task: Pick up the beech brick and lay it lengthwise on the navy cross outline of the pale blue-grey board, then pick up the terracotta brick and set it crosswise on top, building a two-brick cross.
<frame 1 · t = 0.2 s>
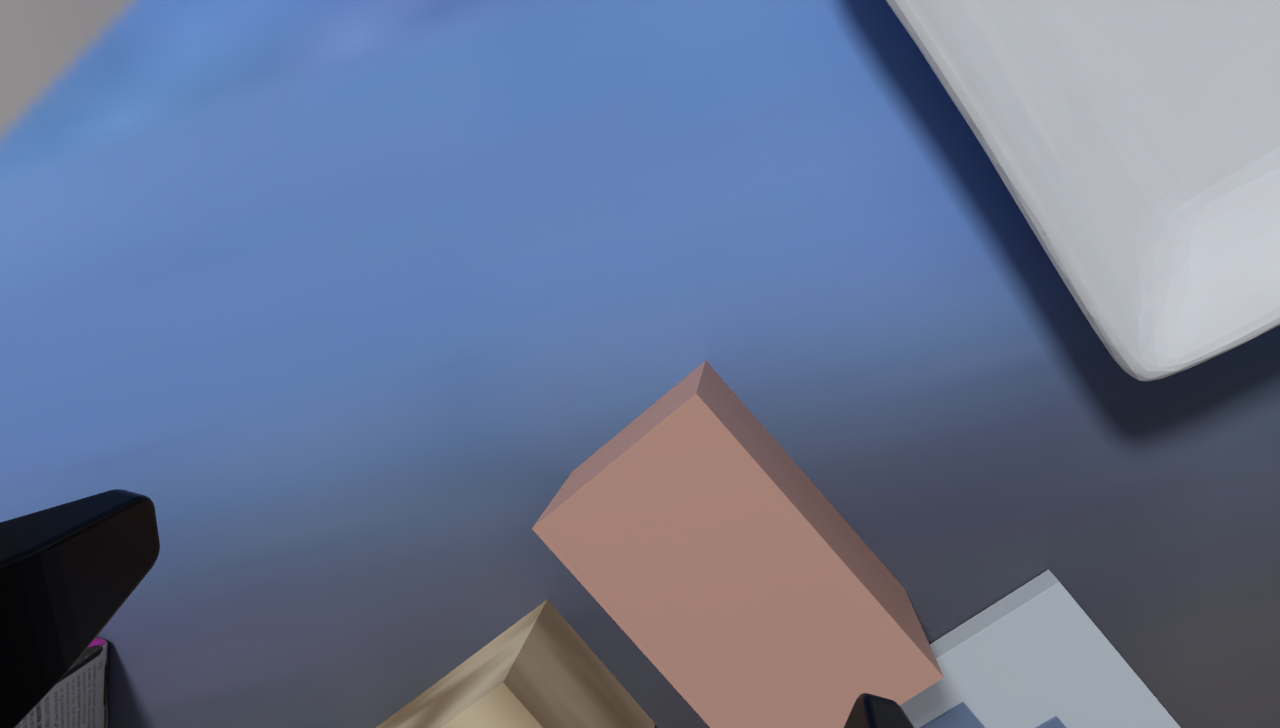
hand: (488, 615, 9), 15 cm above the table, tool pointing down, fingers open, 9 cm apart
brick b: (735, 526, 24), on the table
candy bar box: (1, 657, 30), on the table
brick a: (504, 727, 27), on the table
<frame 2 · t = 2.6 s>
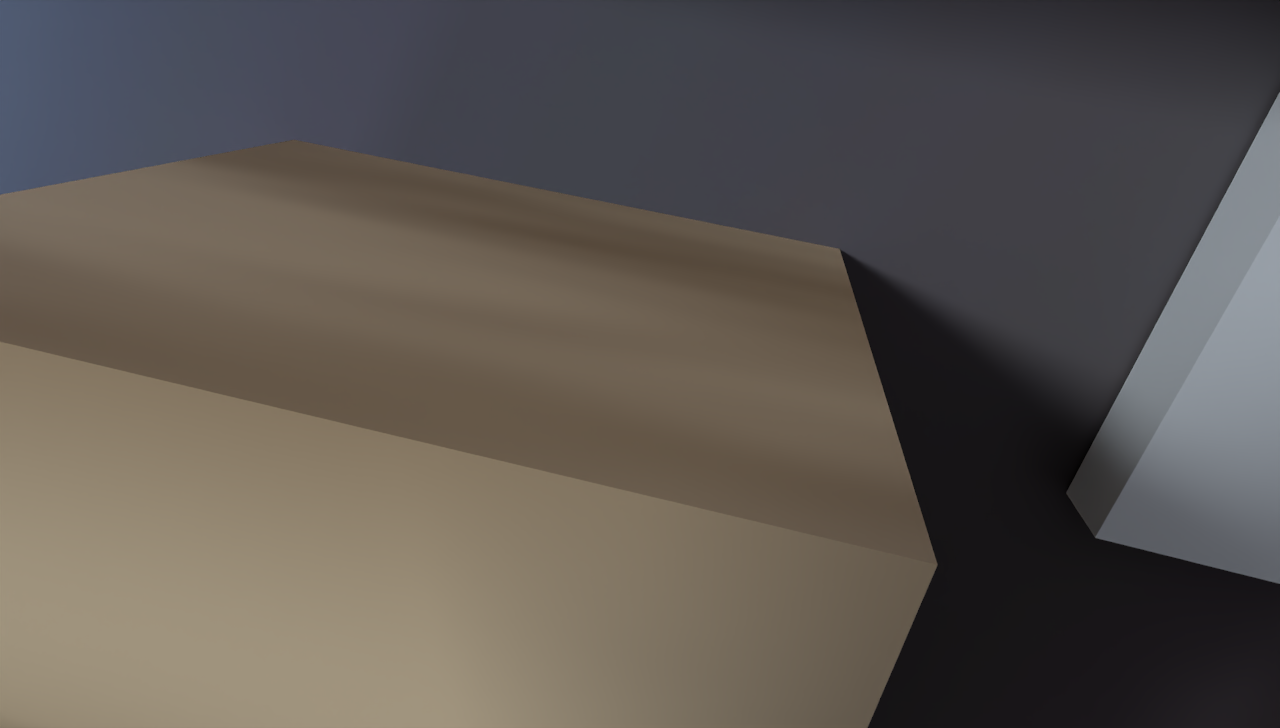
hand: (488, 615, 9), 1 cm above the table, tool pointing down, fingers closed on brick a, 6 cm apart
brick a: (518, 556, 10), on the table, touching gripper
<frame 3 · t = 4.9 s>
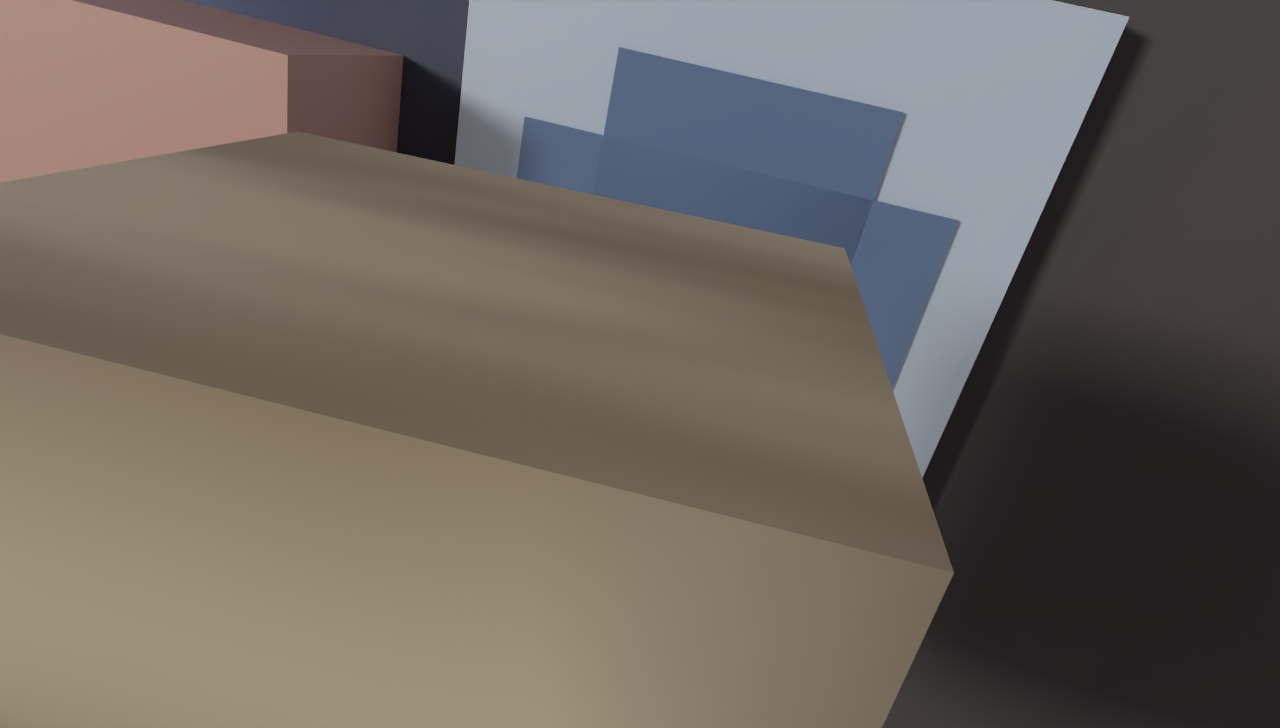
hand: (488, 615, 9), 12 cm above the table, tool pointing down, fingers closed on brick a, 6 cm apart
blueprint board: (706, 285, 19), on the table
brick b: (231, 126, 20), on the table
brick a: (516, 555, 10), point 11 cm above the table, touching gripper
when the fingers open (3 cm above the table, at t = 7.2 s): brick a drops 1 cm, resting on blueprint board.
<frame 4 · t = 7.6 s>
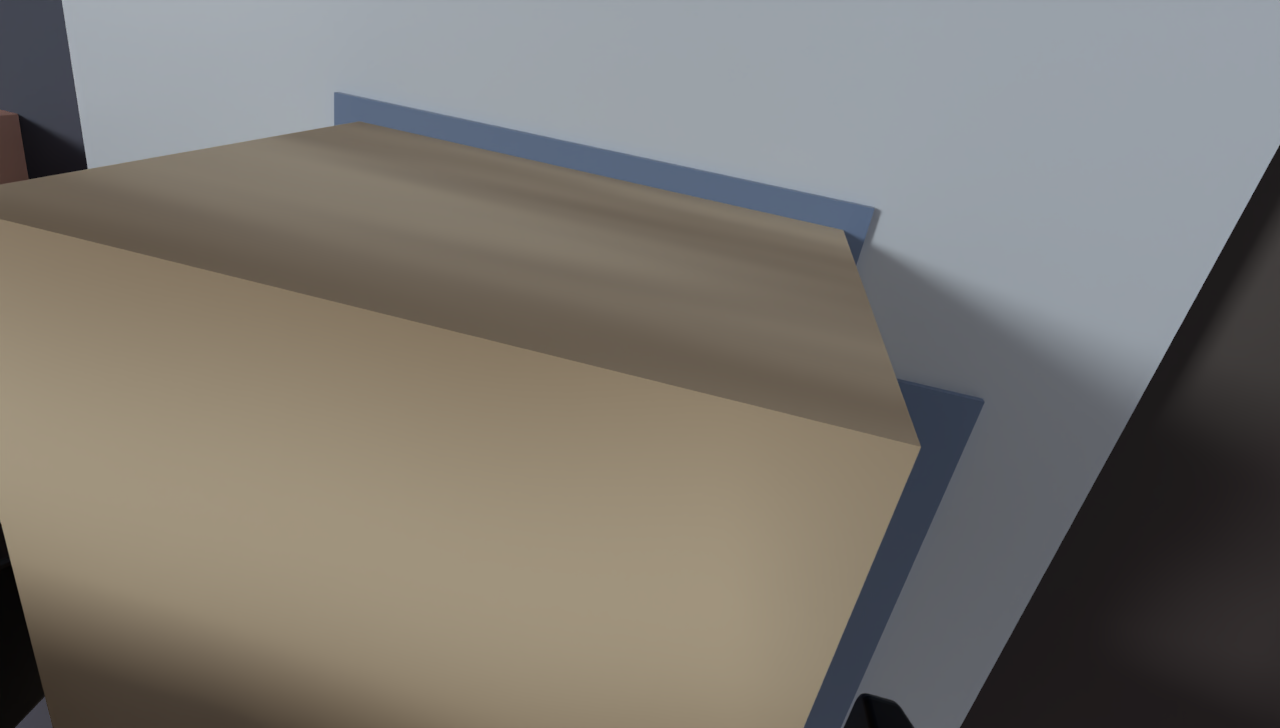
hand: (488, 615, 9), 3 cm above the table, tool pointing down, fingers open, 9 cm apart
blueprint board: (558, 476, 11), on the table
brick a: (542, 508, 11), point 1 cm above the table, touching blueprint board
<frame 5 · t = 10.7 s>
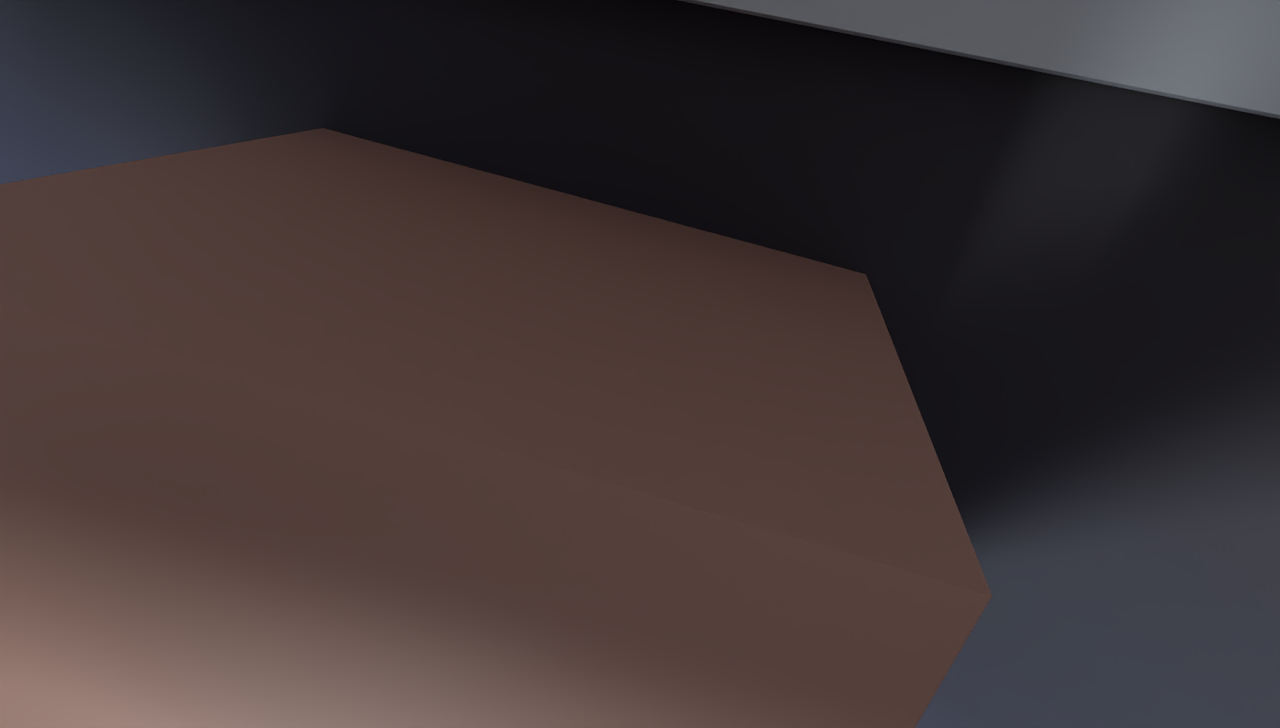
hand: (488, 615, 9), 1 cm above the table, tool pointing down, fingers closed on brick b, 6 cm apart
brick b: (522, 549, 10), on the table, touching gripper
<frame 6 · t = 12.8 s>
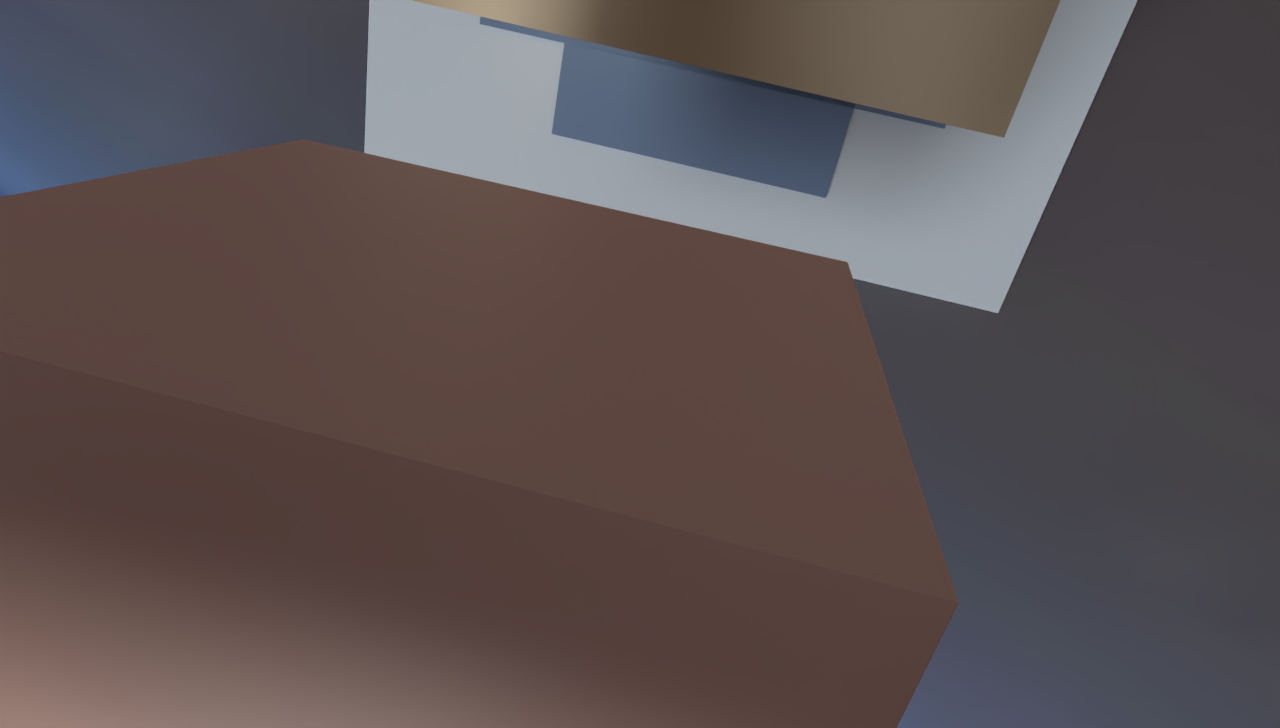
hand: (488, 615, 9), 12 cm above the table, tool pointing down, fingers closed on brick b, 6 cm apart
brick b: (516, 561, 10), point 11 cm above the table, touching gripper
when the fingers open (8 cm above the table, at t = 14.7 s): brick b drops 1 cm, resting on brick a.
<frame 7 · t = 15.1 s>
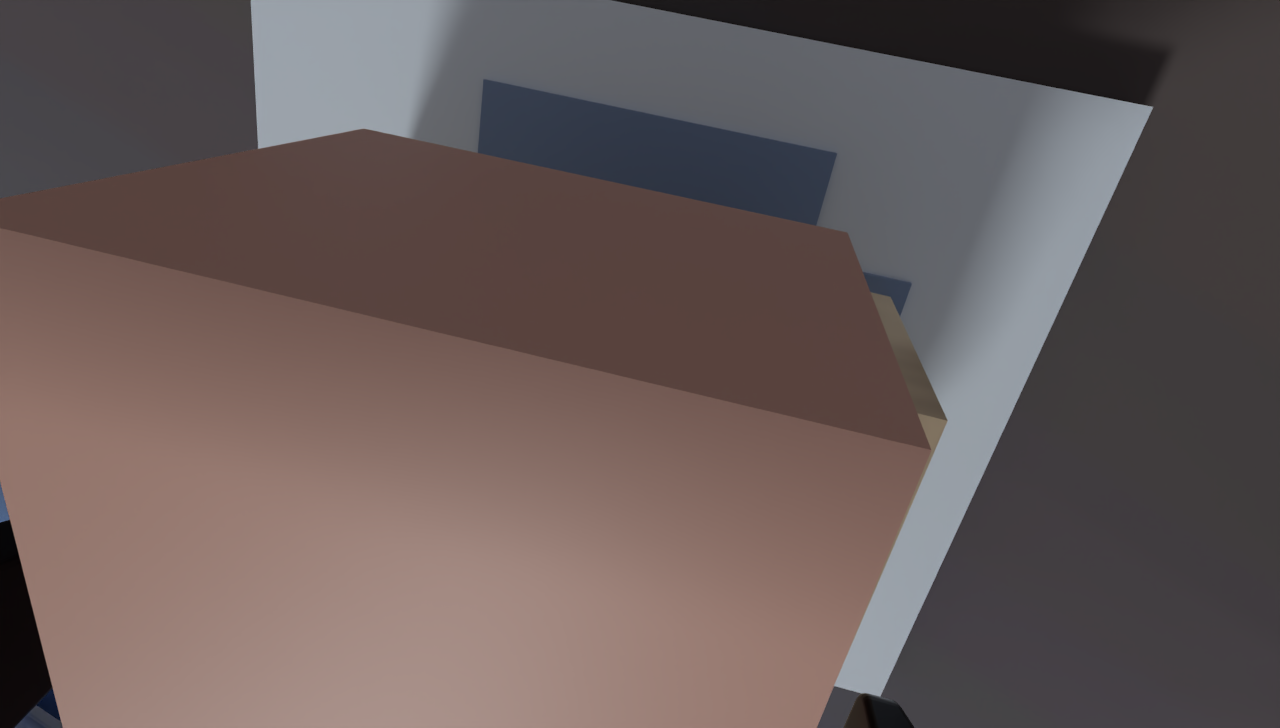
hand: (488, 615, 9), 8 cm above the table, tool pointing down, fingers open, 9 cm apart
blueprint board: (618, 357, 16), on the table
brick b: (548, 512, 11), point 6 cm above the table, touching brick a
brick a: (609, 373, 15), point 1 cm above the table, touching blueprint board, brick b
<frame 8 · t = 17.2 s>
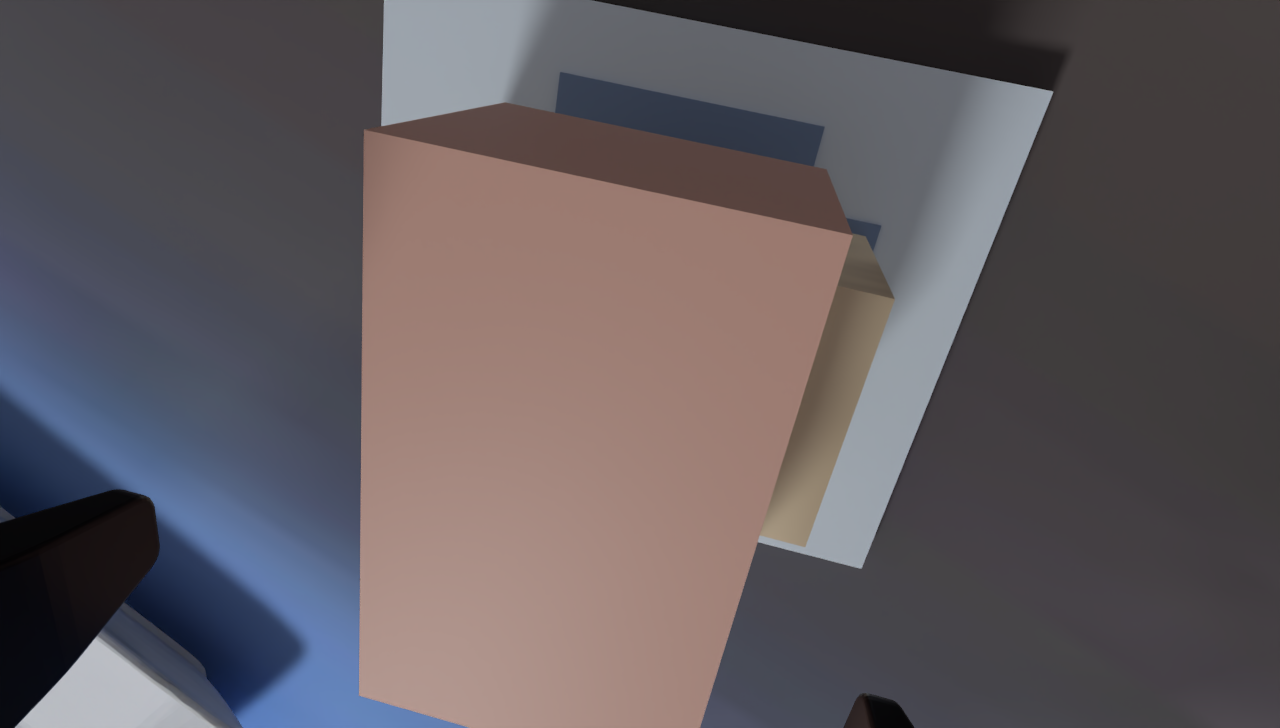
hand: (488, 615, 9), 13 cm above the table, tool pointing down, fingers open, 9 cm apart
blueprint board: (655, 290, 20), on the table
brick b: (618, 377, 15), point 6 cm above the table, touching brick a
brick a: (650, 300, 20), point 1 cm above the table, touching blueprint board, brick b
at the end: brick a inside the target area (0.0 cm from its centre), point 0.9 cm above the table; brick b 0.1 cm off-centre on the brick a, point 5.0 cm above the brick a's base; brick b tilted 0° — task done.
